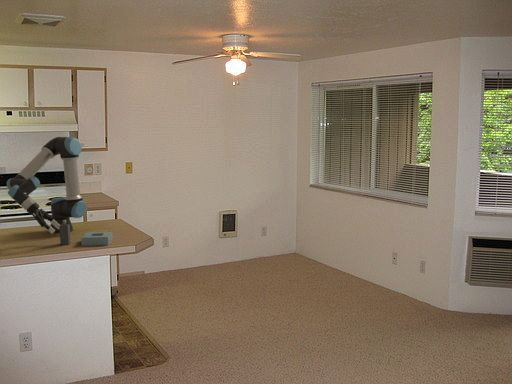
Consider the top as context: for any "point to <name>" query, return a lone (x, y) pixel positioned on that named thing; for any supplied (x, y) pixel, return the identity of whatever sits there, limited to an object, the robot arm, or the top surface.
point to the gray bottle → (65, 233)
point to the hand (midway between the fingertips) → (56, 230)
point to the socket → (97, 238)
